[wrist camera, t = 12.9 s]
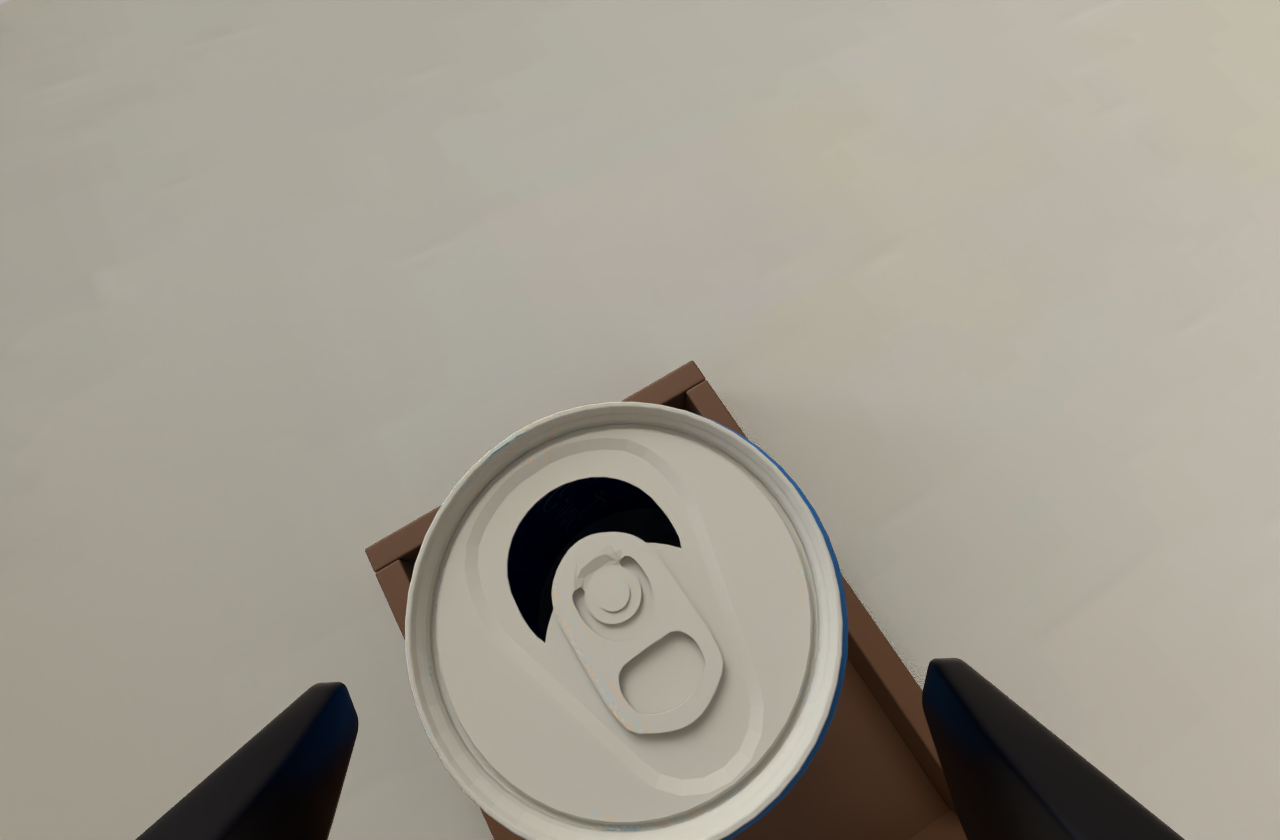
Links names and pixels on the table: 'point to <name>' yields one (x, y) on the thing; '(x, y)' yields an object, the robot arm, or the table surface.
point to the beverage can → (626, 628)
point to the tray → (860, 730)
